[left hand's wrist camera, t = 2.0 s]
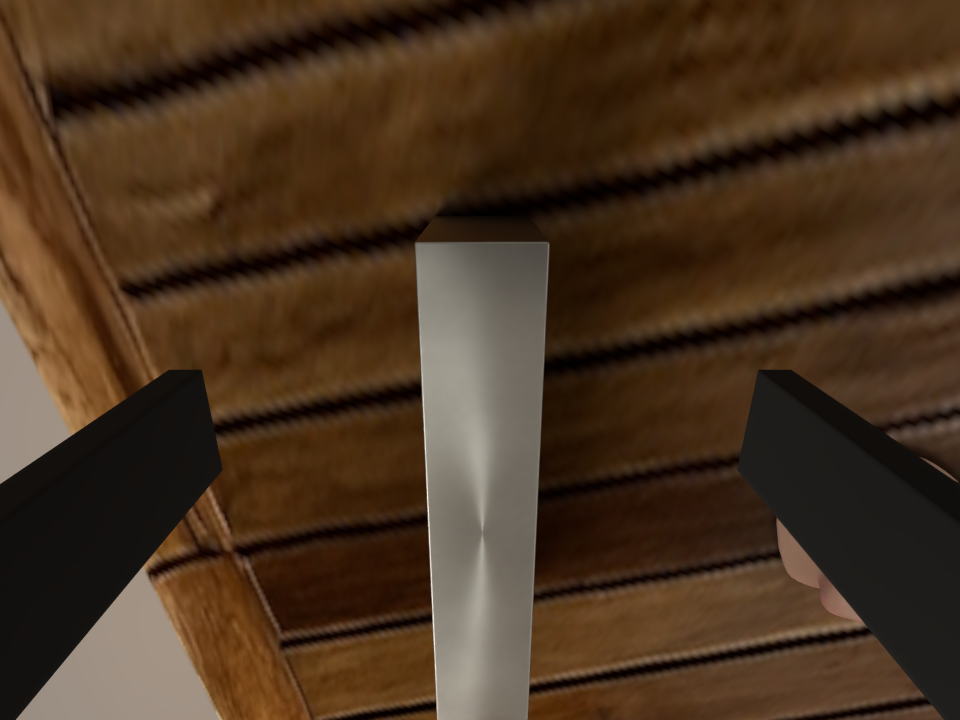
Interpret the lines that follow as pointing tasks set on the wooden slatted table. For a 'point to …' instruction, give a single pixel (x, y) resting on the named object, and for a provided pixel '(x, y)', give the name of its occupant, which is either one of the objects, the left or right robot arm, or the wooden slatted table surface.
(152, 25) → the wooden slatted table surface
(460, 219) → the bar
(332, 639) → the wooden slatted table surface
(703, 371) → the wooden slatted table surface
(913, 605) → the left robot arm
